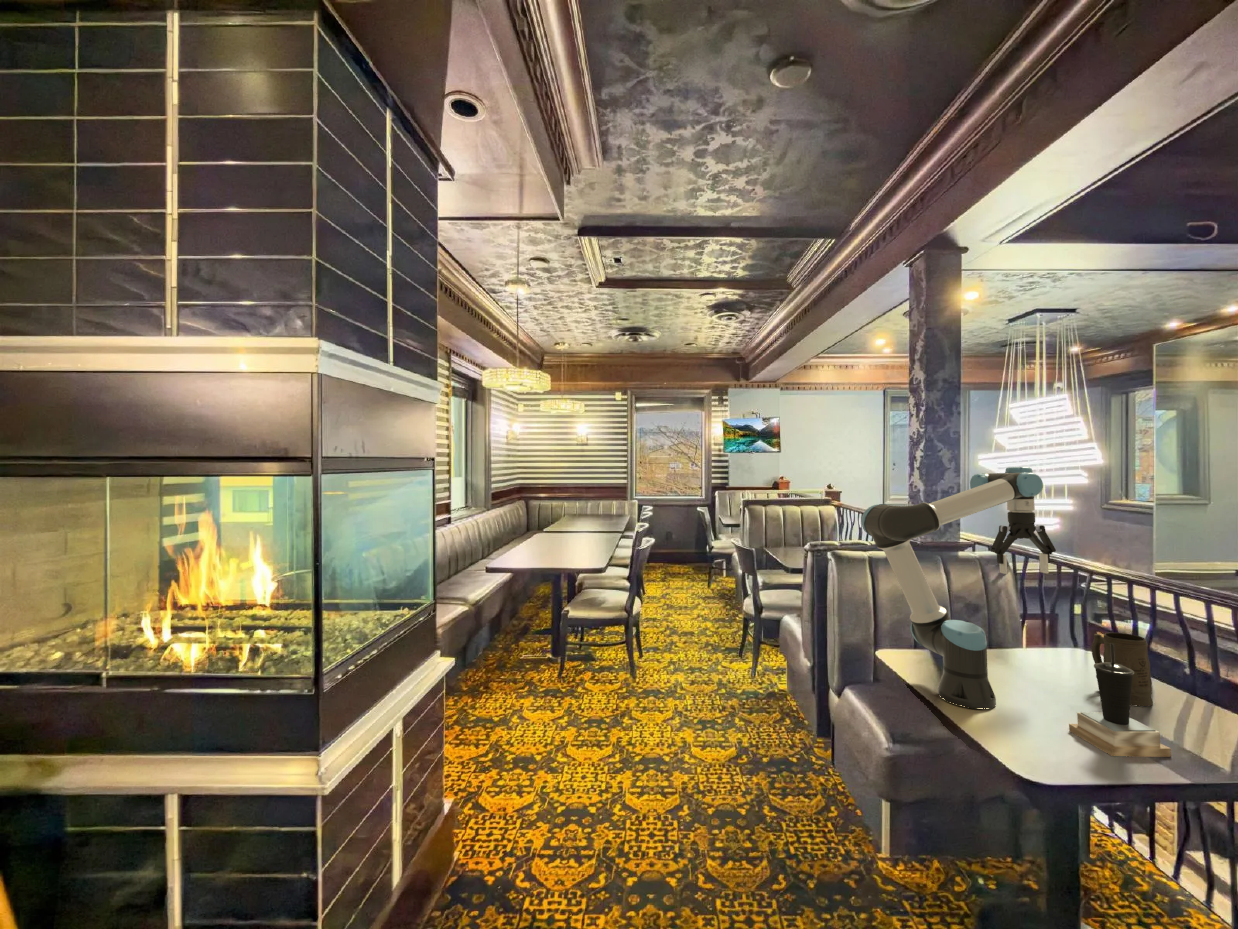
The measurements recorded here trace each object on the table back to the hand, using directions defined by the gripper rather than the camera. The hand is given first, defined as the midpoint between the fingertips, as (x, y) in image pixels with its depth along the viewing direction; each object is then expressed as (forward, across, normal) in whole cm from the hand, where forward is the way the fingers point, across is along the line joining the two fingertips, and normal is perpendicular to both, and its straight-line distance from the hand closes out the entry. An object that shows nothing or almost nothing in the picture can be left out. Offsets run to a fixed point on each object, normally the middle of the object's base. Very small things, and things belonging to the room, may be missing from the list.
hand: (1023, 573), depth 177 cm
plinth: (+37, -8, -42) cm, 56 cm away
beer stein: (+37, +18, -13) cm, 43 cm away
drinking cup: (+31, -8, -42) cm, 53 cm away
